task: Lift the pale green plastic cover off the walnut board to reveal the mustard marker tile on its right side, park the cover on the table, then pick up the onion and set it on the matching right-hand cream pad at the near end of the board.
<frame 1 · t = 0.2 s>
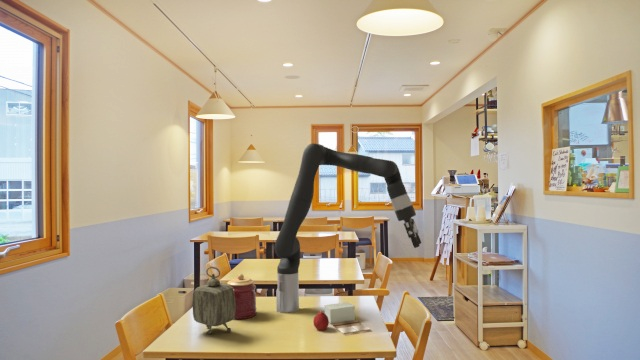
hand: (418, 245, 172), 31 cm above the table, tool tilted 20°, fingers open, 8 cm apart
tabletop clock: (213, 332, 166), on the table
onion: (321, 332, 165), on the table
board: (346, 326, 170), on the table
canister: (241, 315, 187), on the table
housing: (339, 319, 176), point 1 cm above the table, touching board
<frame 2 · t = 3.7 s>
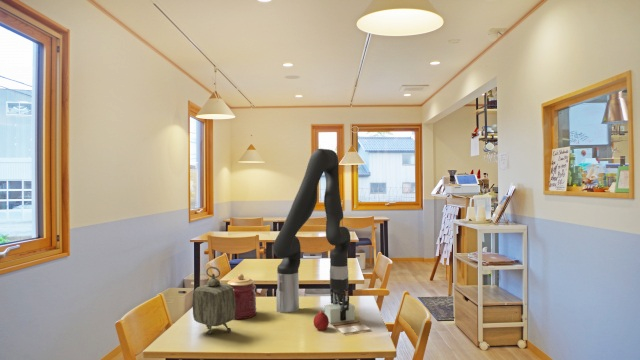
hand: (339, 317, 176), 2 cm above the table, tool pointing down, fingers closed on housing, 6 cm apart
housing: (339, 319, 176), point 1 cm above the table, touching board, gripper
everything else where it was.
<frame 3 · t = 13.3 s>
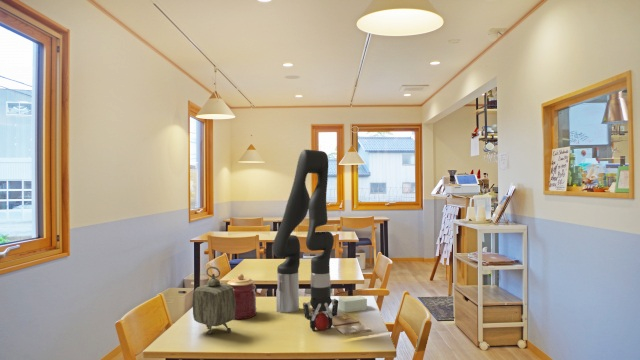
hand: (321, 328, 165), 1 cm above the table, tool pointing down, fingers closed on onion, 6 cm apart
onion: (321, 332, 165), on the table, touching gripper
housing: (352, 311, 190), on the table
everything else where it was.
when the fingers open (3 cm above the table, at t = 18.6 s): onion stays where it is, resting on board.
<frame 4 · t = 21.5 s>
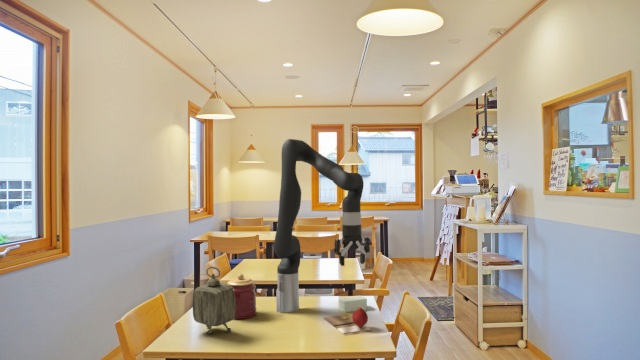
hand: (352, 264, 171), 24 cm above the table, tool pointing down, fingers open, 8 cm apart
onion: (360, 328, 165), point 1 cm above the table, touching board
everything else where it was.
at the end: onion inside the target area (0.2 cm from its centre), point 1.1 cm above the table; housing moved 15.3 cm from its start; the gripper is holding nothing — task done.
